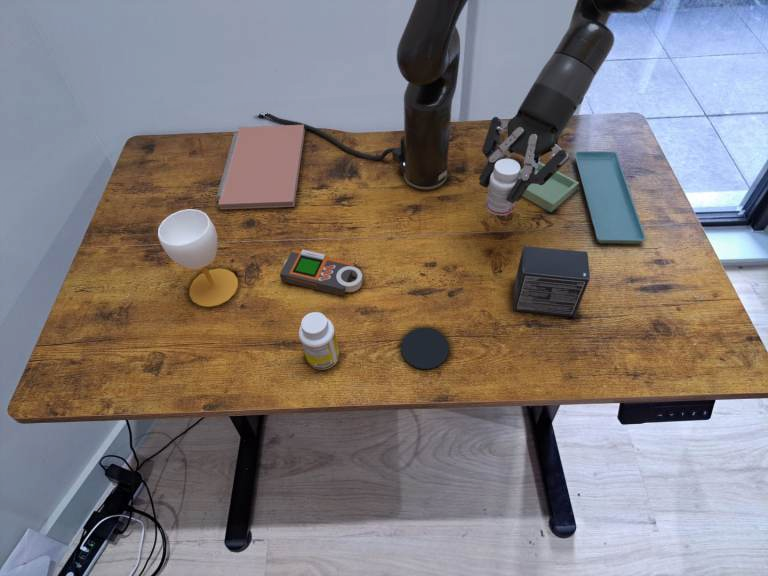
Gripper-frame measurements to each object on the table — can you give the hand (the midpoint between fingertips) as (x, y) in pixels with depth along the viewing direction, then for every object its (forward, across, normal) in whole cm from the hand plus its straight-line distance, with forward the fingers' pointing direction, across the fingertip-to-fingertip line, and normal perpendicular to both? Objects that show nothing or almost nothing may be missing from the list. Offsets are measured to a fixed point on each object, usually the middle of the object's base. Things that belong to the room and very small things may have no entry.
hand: (496, 193), depth 81 cm
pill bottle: (+2, 0, +4) cm, 5 cm away
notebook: (+21, -54, +5) cm, 59 cm away
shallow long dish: (-9, +7, +35) cm, 36 cm away
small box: (+12, +13, +14) cm, 22 cm away
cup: (+40, -33, -14) cm, 54 cm away
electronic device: (+29, -20, -3) cm, 35 cm away
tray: (-5, -5, +30) cm, 31 cm away
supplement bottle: (+37, -7, -11) cm, 39 cm away
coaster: (+27, +4, -2) cm, 28 cm away
